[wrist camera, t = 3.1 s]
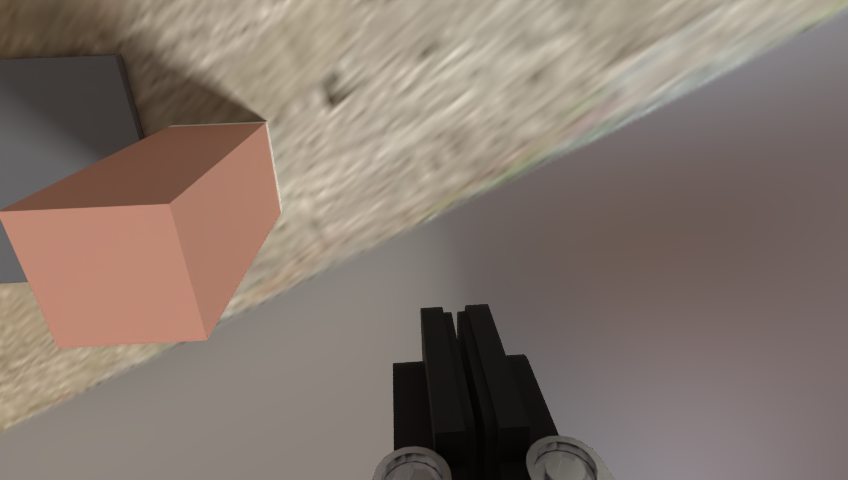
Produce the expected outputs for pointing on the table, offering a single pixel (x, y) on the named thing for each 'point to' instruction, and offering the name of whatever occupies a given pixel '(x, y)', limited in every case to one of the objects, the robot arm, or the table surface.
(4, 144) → the mat
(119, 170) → the salmon pink block
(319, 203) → the table surface
